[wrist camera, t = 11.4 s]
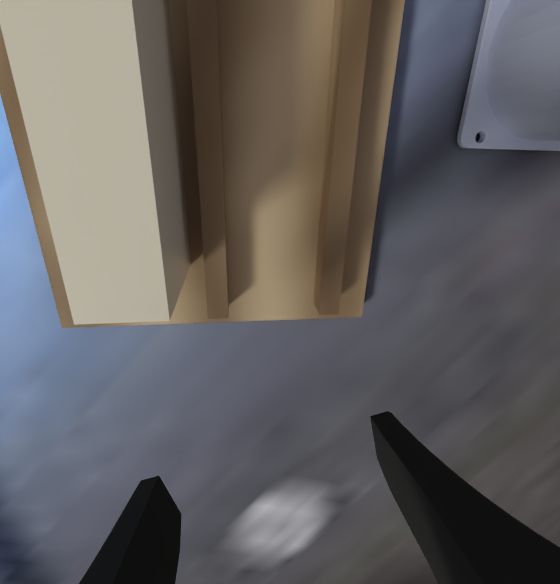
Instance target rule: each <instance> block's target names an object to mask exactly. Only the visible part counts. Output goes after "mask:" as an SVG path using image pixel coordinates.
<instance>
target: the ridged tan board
mask: <svg viewBox="0 0 560 584" xmlns="http://www.w3.org/2000/svg"><path fill="white" fill-rule="evenodd" d="M404 4H405V0H169V10H170V21H171V33H172V45H173V57H174V69H175V81H176V93H177V105H178V117H179V129H180V141H181V152H182V164H183V176H184V188H185V200H186V212H187V224H188V236H189V248H190V260H191V266H190V268H189V271H188V274H187V276H186V279H185V282H184V284H183V287H182V290H181V292H180V295H179V298H178V300H177V303H176V306H175V308H174V311H173V314H172V316H171V319H170V321H160V322H132V323H104V324H77V325H74V322H73V318H72V314H71V310H70V306H69V302H68V298H67V294H66V290H65V286H64V282H63V278H62V274H61V270H60V265H59V261H58V257H57V253H56V249H55V245H54V241H53V237H52V233H51V229H50V225H49V221H48V217H47V213H46V209H45V205H44V201H43V197H42V193H41V188H40V184H39V180H38V176H37V172H36V168H35V164H34V160H33V156H32V152H31V148H30V144H29V140H28V136H27V132H26V128H25V124H24V120H23V115H22V111H21V107H20V103H19V99H18V95H17V91H16V87H15V83H14V79H13V75H12V71H11V67H10V63H9V59H8V55H7V51H6V47H5V42H4V38H3V34H2V30H1V26H0V94H1V98H2V101H3V105H4V109H5V113H6V117H7V120H8V124H9V128H10V132H11V136H12V139H13V143H14V147H15V151H16V155H17V158H18V162H19V166H20V170H21V174H22V177H23V181H24V185H25V189H26V193H27V196H28V200H29V204H30V208H31V212H32V215H33V219H34V223H35V227H36V231H37V234H38V238H39V242H40V246H41V250H42V253H43V257H44V261H45V265H46V269H47V272H48V276H49V280H50V284H51V288H52V291H53V295H54V299H55V303H56V307H57V310H58V314H59V318H60V322H61V326H62V328H73V327H100V326H127V325H155V324H182V323H209V322H236V321H264V320H291V319H318V318H346V317H362V312H363V305H364V297H365V290H366V283H367V275H368V268H369V261H370V253H371V246H372V239H373V231H374V224H375V217H376V209H377V202H378V195H379V187H380V180H381V173H382V165H383V158H384V151H385V143H386V136H387V129H388V122H389V114H390V107H391V100H392V92H393V85H394V78H395V70H396V63H397V56H398V48H399V41H400V34H401V26H402V19H403V12H404Z"/></svg>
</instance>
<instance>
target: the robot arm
mask: <svg viewBox="0 0 560 584" xmlns="http://www.w3.org/2000/svg"><path fill="white" fill-rule="evenodd" d="M478 132H479V134H480V139H479V141H478V142H476V140H475V137H476V135H477V133H478ZM457 143H458V145H459V146H460V147H462V148H477V149H510V150H543V151H560V0H486V3H485V8H484V13H483V18H482V22H481V27H480V32H479V36H478V41H477V46H476V51H475V55H474V60H473V65H472V69H471V74H470V79H469V84H468V88H467V93H466V98H465V102H464V107H463V112H462V117H461V121H460V126H459V131H458V135H457ZM370 417H371V423H372V429H373V435H374V441H375V448H376V454H377V459H378V461H379V464H380V466H381V469H382V471H383V474H384V476H385V479H386V481H387V483H388V486H389V488H390V491H391V492H392V494H393V496H394V498H395V500H396V502H397V504H398V506H399V508H400V510H401V512H402V514H403V516H404V518H405V519H406V521H407V523H408V525H409V527H410V529H411V531H412V533H413V535H414V537H415V538H416V540H417V542H418V544H419V546H420V548H421V550H422V552H423V554H424V556H425V558H426V559H427V561H428V563H429V565H430V567H431V569H432V571H433V573H434V575H435V577H436V580H437V582H438V584H560V547H558V546H557V545H555V544H553V543H552V542H550V541H549V540H547V539H545V538H544V537H542V536H541V535H539V534H537V533H536V532H534V531H533V530H531V529H530V528H529V527H527V526H526V525H524V524H523V523H521V522H520V521H518V520H517V519H515V518H514V517H512V516H511V515H510V514H508V513H507V512H505V511H504V510H503V509H501V508H500V507H498V506H497V505H496V504H494V503H493V502H491V501H490V500H489V499H487V498H486V497H485V496H483V495H482V494H481V493H480V492H478V491H477V490H476V489H474V488H473V487H472V486H471V485H469V484H468V483H467V482H466V481H464V480H463V479H462V478H461V477H459V476H458V475H457V474H456V473H455V472H453V471H452V470H451V469H450V468H449V467H447V466H446V465H445V464H444V463H443V462H442V461H441V460H439V459H438V458H437V457H436V456H435V455H434V454H433V453H431V452H430V451H429V450H428V449H427V448H426V447H425V446H424V445H423V444H422V443H420V442H419V441H418V440H417V439H416V438H415V437H414V436H413V435H412V434H411V433H410V432H409V431H408V430H407V429H406V428H405V427H404V426H403V425H402V424H401V423H400V422H399V421H398V420H397V419H396V417H395V416H394V415H393V414H392V413H390V412H388V411H387V412H384V413H380V414H377V415H373V416H370ZM180 536H181V513H180V511H179V509H178V508H177V506H176V504H175V502H174V501H173V499H172V497H171V496H170V494H169V492H168V490H167V489H166V487H165V485H164V483H163V482H162V480H161V478H160V477H159V476H156V477H153V478H149V479H145V480H142V481H141V482H140V483H139V485H138V487H137V488H136V490H135V491H134V493H133V495H132V497H131V498H130V500H129V502H128V503H127V505H126V507H125V509H124V510H123V512H122V514H121V516H120V517H119V519H118V521H117V522H116V524H115V526H114V528H113V529H112V531H111V533H110V534H109V536H108V538H107V539H106V541H105V543H104V544H103V546H102V548H101V549H100V551H99V553H98V554H97V556H96V558H95V559H94V561H93V562H92V564H91V566H90V567H89V569H88V570H87V572H86V574H85V575H84V577H83V578H82V580H81V581H80V583H79V584H175V580H176V573H177V566H178V559H179V552H180Z"/></svg>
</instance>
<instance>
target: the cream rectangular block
mask: <svg viewBox="0 0 560 584" xmlns="http://www.w3.org/2000/svg"><path fill="white" fill-rule="evenodd" d="M0 26H1V30H2V34H3V38H4V42H5V47H6V51H7V55H8V59H9V63H10V67H11V71H12V75H13V79H14V83H15V87H16V91H17V95H18V99H19V103H20V107H21V111H22V115H23V120H24V124H25V128H26V132H27V136H28V140H29V144H30V148H31V152H32V156H33V160H34V164H35V168H36V172H37V176H38V180H39V184H40V188H41V193H42V197H43V201H44V205H45V209H46V213H47V217H48V221H49V225H50V229H51V233H52V237H53V241H54V245H55V249H56V253H57V257H58V261H59V265H60V270H61V274H62V278H63V282H64V286H65V290H66V294H67V298H68V302H69V306H70V310H71V314H72V318H73V322H74V325H77V324H104V323H132V322H160V321H170V319H171V316H172V314H173V311H174V308H175V306H176V303H177V300H178V298H179V295H180V292H181V290H182V287H183V284H184V282H185V279H186V276H187V274H188V271H189V268H190V266H191V260H190V248H189V236H188V224H187V212H186V200H185V188H184V176H183V164H182V152H181V141H180V129H179V117H178V105H177V93H176V81H175V69H174V57H173V45H172V33H171V21H170V10H169V0H0Z"/></svg>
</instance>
